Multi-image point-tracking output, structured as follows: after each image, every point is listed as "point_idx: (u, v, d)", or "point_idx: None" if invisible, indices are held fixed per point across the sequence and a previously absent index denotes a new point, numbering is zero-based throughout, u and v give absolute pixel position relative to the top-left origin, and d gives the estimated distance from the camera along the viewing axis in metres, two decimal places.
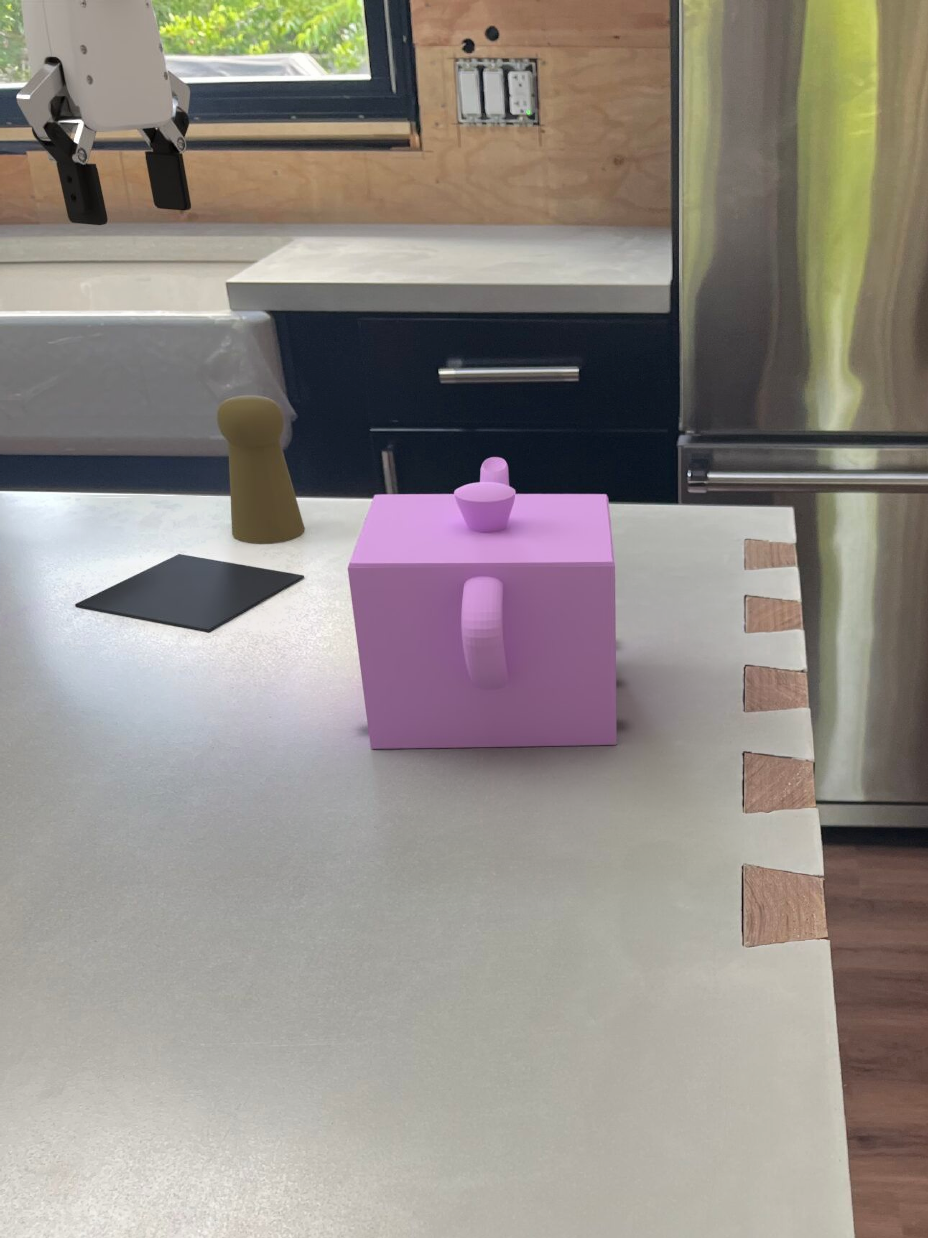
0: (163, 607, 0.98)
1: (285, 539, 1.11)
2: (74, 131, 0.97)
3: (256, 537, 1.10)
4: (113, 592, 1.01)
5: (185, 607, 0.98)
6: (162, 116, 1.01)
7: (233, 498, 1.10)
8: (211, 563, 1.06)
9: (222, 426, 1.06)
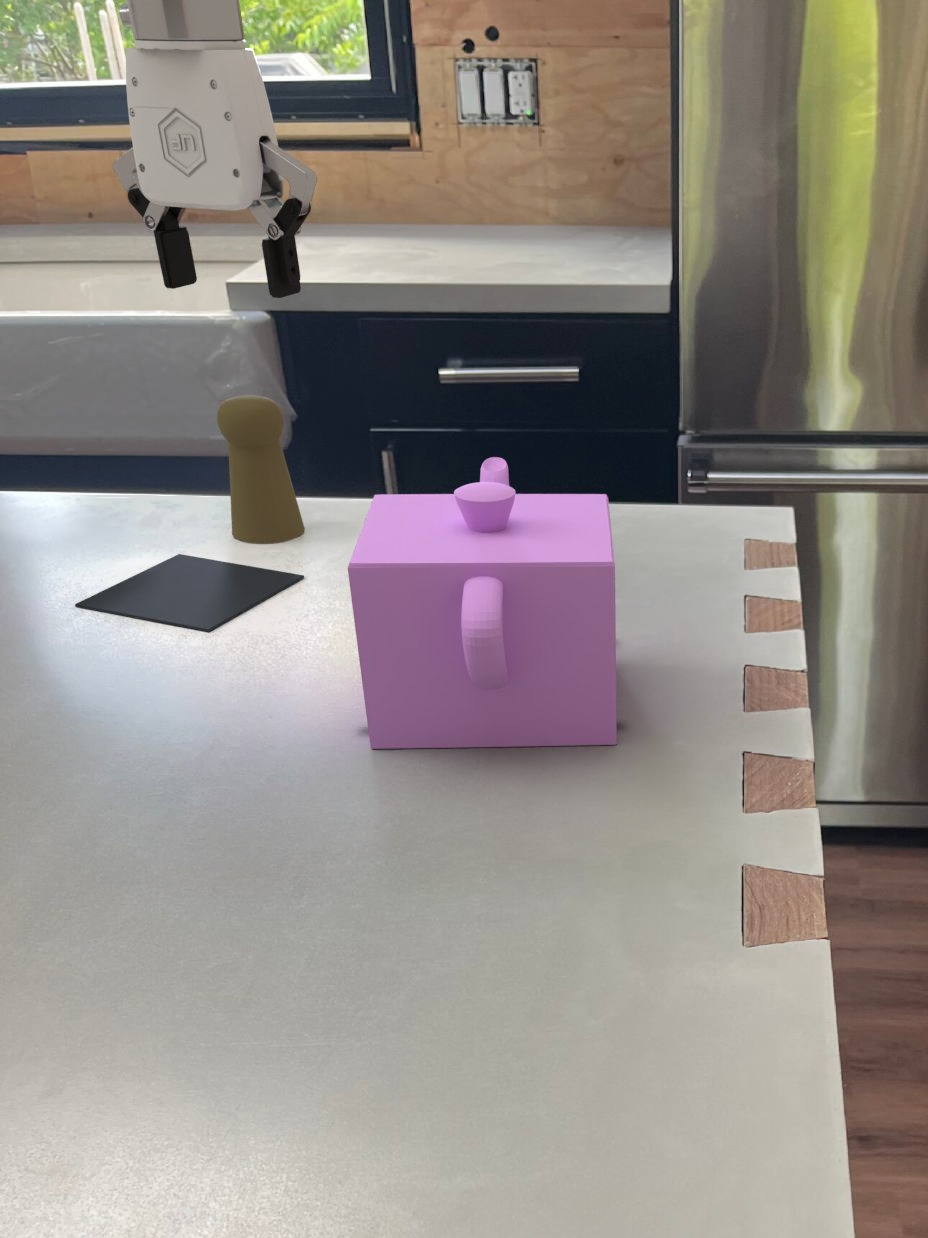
0: (163, 607, 0.98)
1: (285, 539, 1.11)
2: None
3: (256, 537, 1.10)
4: (113, 592, 1.01)
5: (185, 607, 0.98)
6: None
7: (233, 498, 1.10)
8: (211, 563, 1.06)
9: (222, 426, 1.06)
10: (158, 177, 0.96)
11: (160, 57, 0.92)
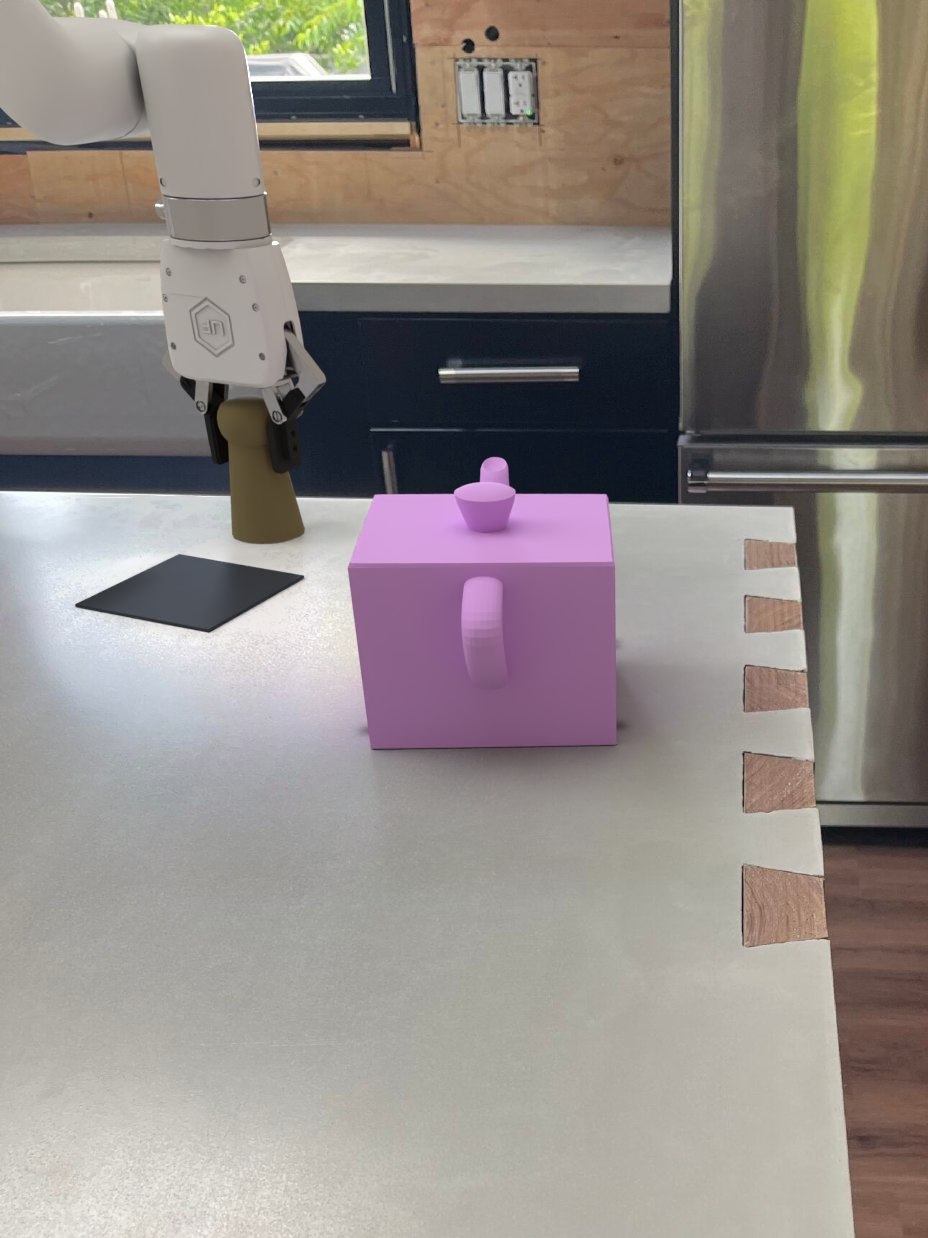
0: (163, 607, 0.98)
1: (285, 539, 1.11)
2: None
3: (256, 537, 1.10)
4: (113, 592, 1.01)
5: (185, 607, 0.98)
6: None
7: (233, 498, 1.10)
8: (211, 563, 1.06)
9: (222, 426, 1.06)
10: (188, 355, 1.03)
11: (193, 252, 0.99)
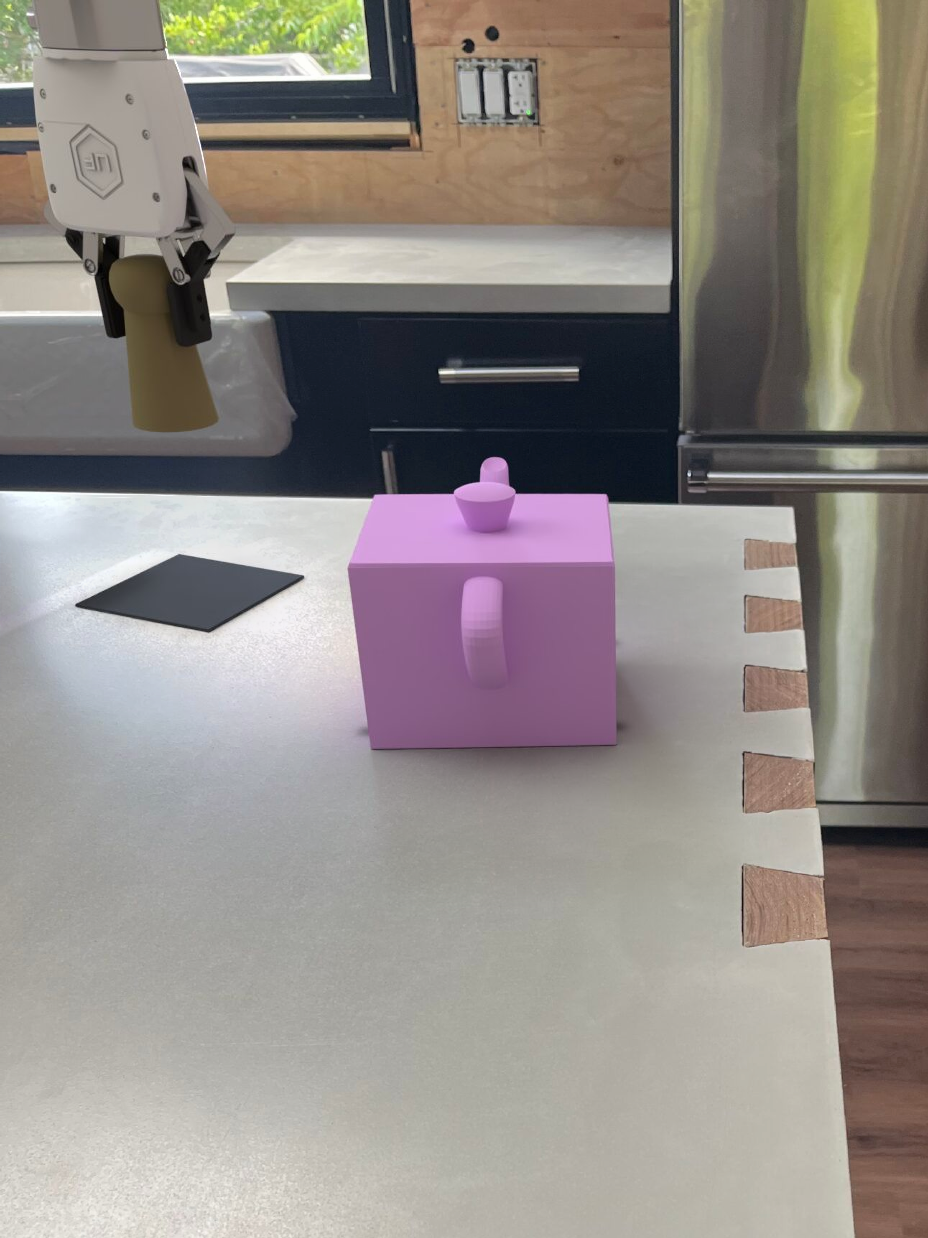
0: (163, 607, 0.98)
1: (194, 428, 0.95)
2: None
3: (159, 424, 0.94)
4: (113, 592, 1.01)
5: (185, 607, 0.98)
6: None
7: (131, 378, 0.93)
8: (211, 563, 1.06)
9: (114, 288, 0.90)
10: (71, 199, 0.87)
11: (70, 67, 0.82)
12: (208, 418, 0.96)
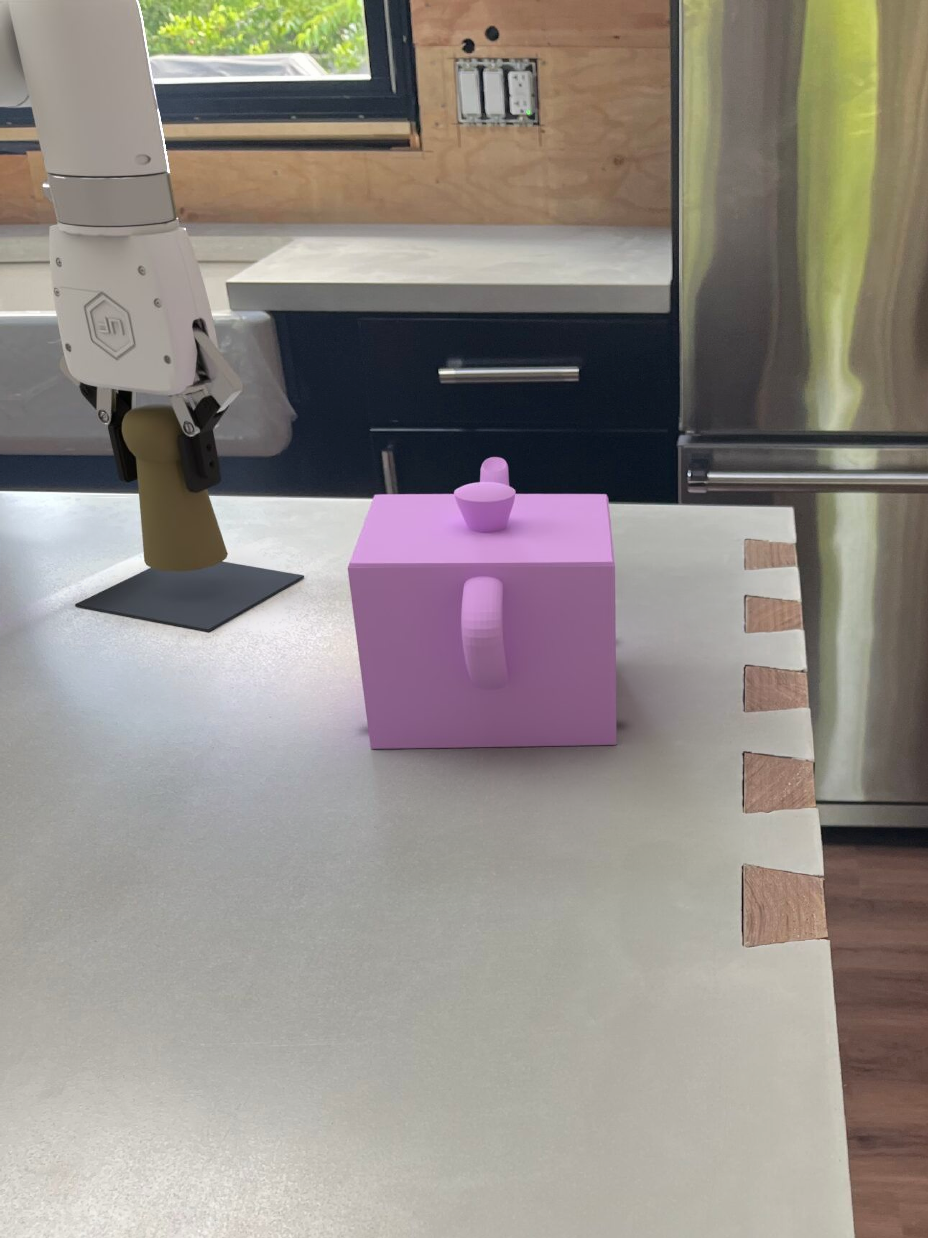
0: (163, 607, 0.98)
1: (203, 566, 0.98)
2: None
3: (170, 564, 0.97)
4: (113, 592, 1.01)
5: (185, 607, 0.98)
6: None
7: (143, 520, 0.97)
8: None
9: (127, 439, 0.93)
10: (85, 358, 0.90)
11: (85, 240, 0.86)
12: (217, 556, 0.99)
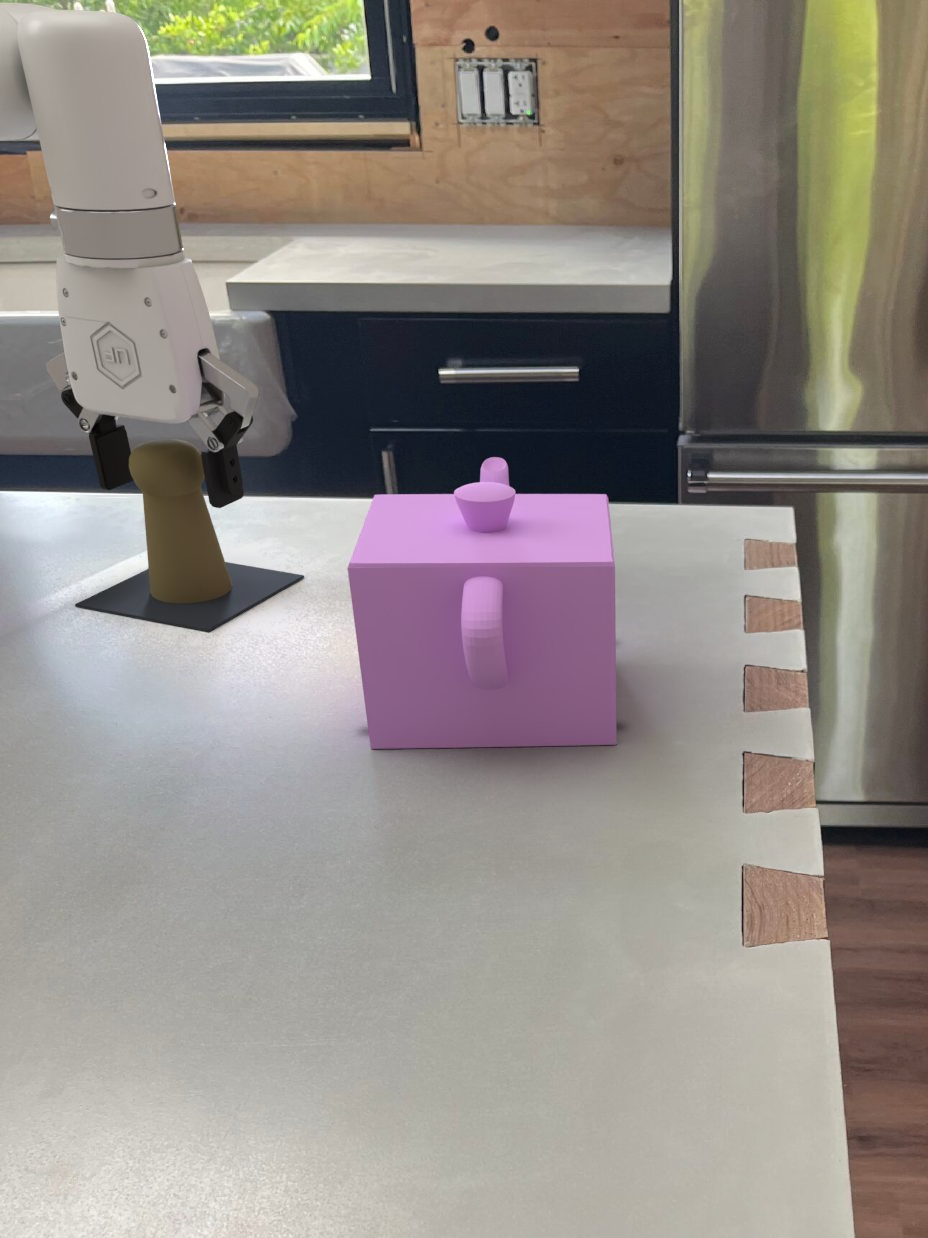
0: (163, 607, 0.98)
1: (209, 598, 1.00)
2: None
3: (175, 596, 0.99)
4: (113, 592, 1.01)
5: (185, 607, 0.98)
6: None
7: (149, 553, 0.98)
8: None
9: (134, 474, 0.95)
10: (91, 386, 0.91)
11: (91, 271, 0.87)
12: (222, 587, 1.00)
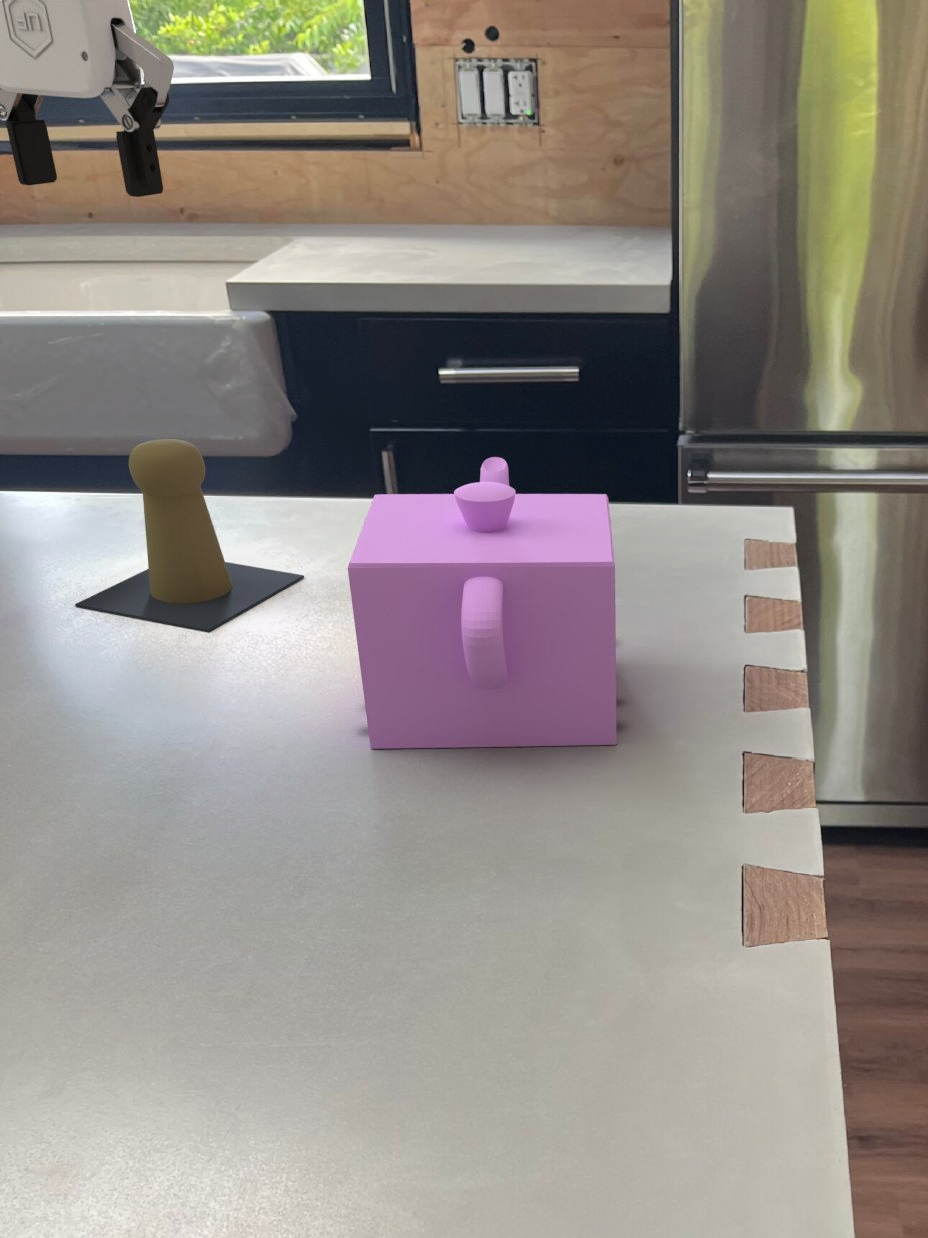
0: (163, 607, 0.98)
1: (209, 598, 1.00)
2: None
3: (175, 596, 0.99)
4: (113, 592, 1.01)
5: (185, 607, 0.98)
6: None
7: (149, 553, 0.98)
8: None
9: (134, 474, 0.95)
10: (5, 60, 0.90)
11: None
12: (222, 587, 1.00)
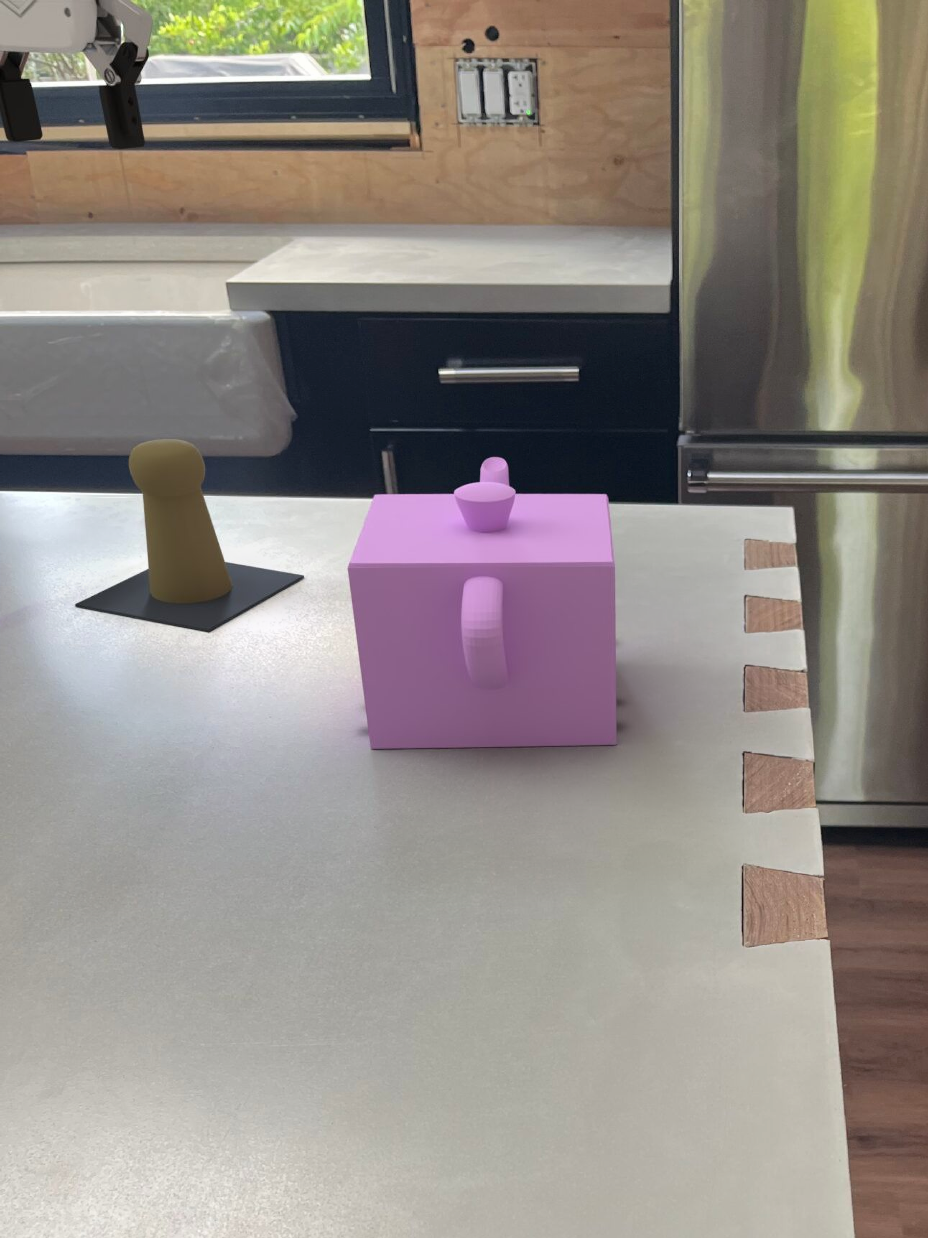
0: (163, 607, 0.98)
1: (209, 598, 1.00)
2: None
3: (175, 596, 0.99)
4: (113, 592, 1.01)
5: (185, 607, 0.98)
6: None
7: (149, 553, 0.98)
8: None
9: (134, 474, 0.95)
10: None
11: None
12: (222, 587, 1.00)
